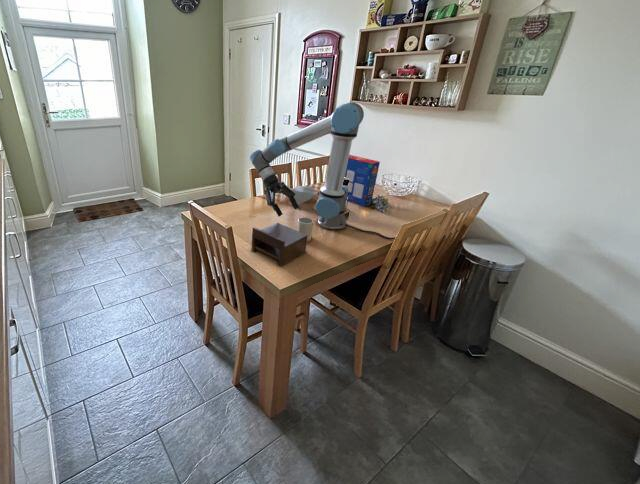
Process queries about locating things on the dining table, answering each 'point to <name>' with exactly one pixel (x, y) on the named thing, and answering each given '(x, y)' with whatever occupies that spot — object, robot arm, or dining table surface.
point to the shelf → (279, 242)
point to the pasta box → (361, 179)
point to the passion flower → (380, 203)
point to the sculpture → (303, 194)
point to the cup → (305, 226)
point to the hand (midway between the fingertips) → (289, 211)
